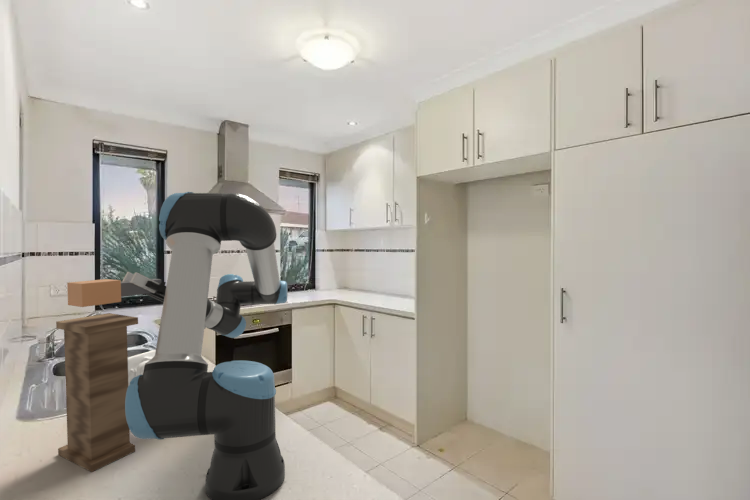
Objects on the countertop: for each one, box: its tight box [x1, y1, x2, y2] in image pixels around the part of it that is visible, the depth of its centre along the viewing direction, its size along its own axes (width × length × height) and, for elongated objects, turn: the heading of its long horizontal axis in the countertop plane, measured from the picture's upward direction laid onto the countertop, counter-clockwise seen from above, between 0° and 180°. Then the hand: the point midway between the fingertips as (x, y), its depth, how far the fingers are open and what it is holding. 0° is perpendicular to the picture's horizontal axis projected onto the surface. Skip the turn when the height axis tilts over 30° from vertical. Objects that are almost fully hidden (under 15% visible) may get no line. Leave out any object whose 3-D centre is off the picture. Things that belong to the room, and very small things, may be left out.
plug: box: [66, 278, 162, 308], centre depth 94 cm, size 6×19×5 cm, turn 152°
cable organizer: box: [128, 349, 156, 386], centre depth 126 cm, size 15×11×12 cm
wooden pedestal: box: [55, 312, 139, 473], centre depth 90 cm, size 14×11×30 cm
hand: (129, 277), depth 95 cm, fingers closed on plug, 3 cm apart
